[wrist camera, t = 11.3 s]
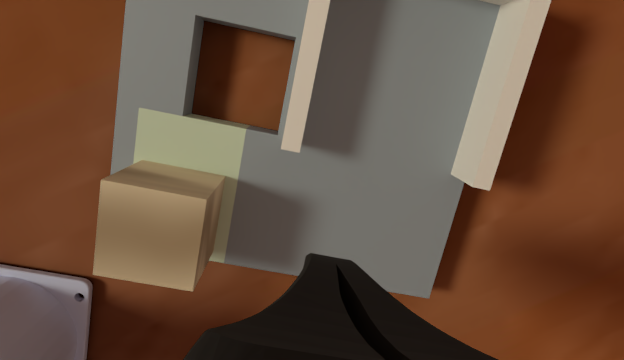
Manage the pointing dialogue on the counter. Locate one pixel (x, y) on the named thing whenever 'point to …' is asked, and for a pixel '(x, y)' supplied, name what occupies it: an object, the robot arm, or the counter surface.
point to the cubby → (487, 98)
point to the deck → (318, 129)
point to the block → (157, 224)
